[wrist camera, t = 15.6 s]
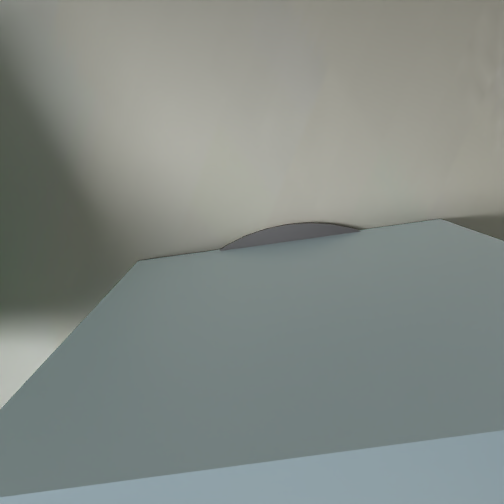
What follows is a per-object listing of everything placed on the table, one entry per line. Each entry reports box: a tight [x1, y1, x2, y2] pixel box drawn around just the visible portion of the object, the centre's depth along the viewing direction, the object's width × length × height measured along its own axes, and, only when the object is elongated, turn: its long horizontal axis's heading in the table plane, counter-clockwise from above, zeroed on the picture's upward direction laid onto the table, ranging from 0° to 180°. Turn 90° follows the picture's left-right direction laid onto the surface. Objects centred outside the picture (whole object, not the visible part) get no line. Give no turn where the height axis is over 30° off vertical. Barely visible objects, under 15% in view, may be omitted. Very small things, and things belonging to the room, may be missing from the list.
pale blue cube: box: [0, 219, 504, 504], centre depth 9 cm, size 10×10×9 cm
